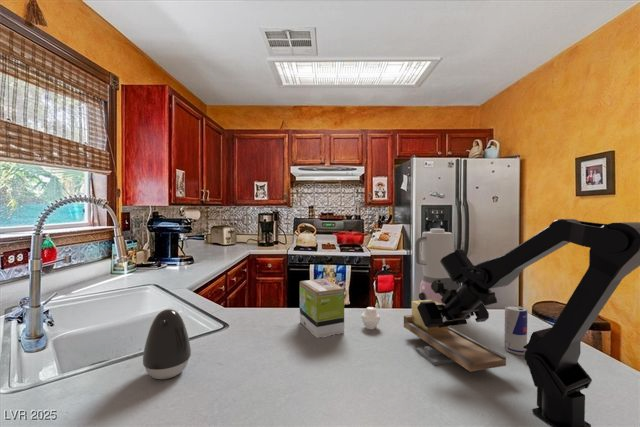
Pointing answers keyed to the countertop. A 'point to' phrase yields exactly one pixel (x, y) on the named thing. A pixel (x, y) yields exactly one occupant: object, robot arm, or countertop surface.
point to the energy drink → (515, 329)
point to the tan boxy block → (419, 322)
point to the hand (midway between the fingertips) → (438, 326)
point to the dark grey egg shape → (166, 346)
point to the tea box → (322, 307)
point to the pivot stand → (434, 355)
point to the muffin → (370, 318)
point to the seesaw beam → (459, 348)
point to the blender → (433, 260)
